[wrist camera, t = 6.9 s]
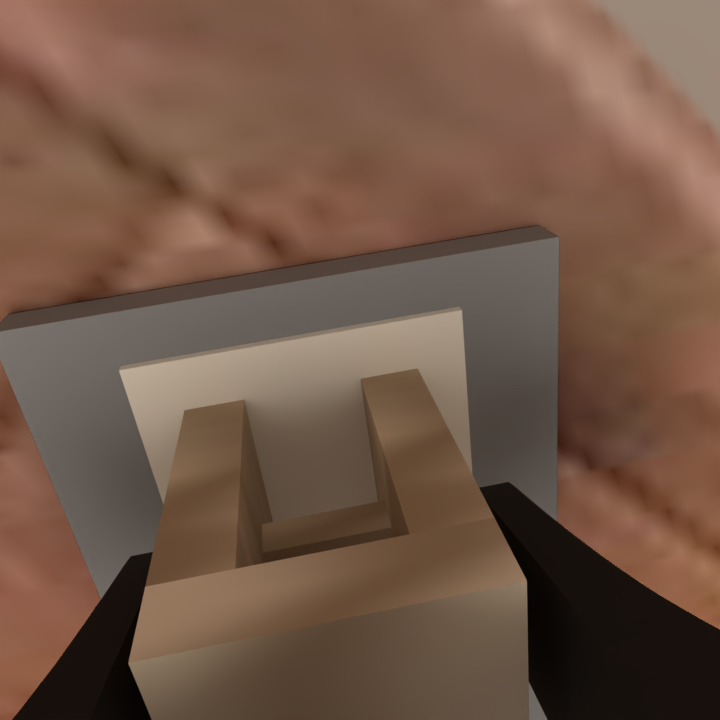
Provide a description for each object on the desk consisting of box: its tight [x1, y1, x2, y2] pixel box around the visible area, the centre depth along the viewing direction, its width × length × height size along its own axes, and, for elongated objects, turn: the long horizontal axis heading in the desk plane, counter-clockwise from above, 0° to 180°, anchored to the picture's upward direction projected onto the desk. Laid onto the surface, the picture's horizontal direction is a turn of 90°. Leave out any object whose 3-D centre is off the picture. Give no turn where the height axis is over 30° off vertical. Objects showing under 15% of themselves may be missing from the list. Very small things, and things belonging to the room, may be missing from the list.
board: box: [0, 225, 559, 720], centre depth 17 cm, size 20×11×1 cm, turn 7°
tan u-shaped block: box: [128, 368, 529, 720], centre depth 11 cm, size 5×5×6 cm
